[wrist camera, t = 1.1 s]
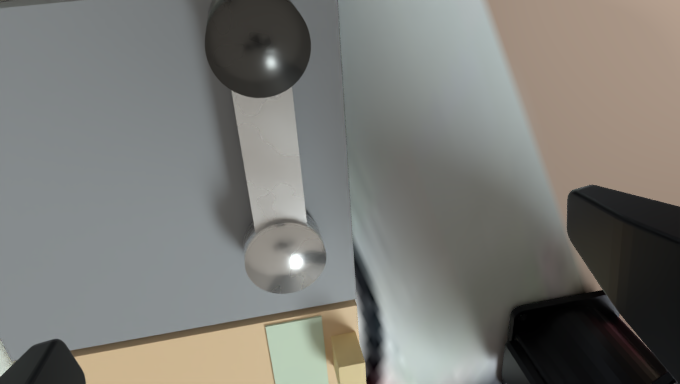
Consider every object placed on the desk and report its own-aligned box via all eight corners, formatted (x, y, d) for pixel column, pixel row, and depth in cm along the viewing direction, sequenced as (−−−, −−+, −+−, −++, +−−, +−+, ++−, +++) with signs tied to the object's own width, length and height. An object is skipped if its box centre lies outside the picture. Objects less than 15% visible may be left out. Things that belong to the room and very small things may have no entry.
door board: (327, -30, 19) (348, -16, 16) (356, 390, 30) (372, 447, 27) (-130, 13, 17) (-206, 38, 14) (77, 448, 28) (59, 516, 25)
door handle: (323, 266, 23) (342, 331, 20) (249, 278, 23) (254, 348, 19) (294, -32, 17) (313, -15, 14) (194, -23, 17) (186, -2, 13)
